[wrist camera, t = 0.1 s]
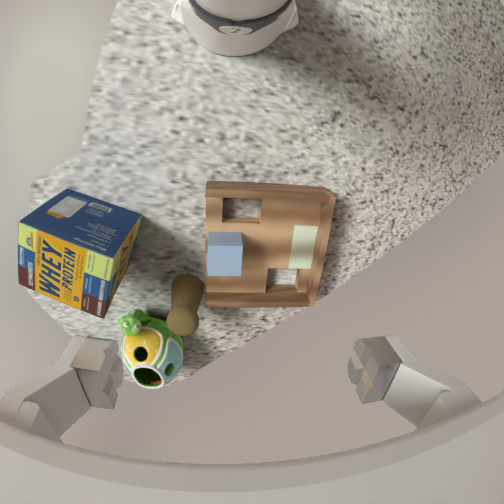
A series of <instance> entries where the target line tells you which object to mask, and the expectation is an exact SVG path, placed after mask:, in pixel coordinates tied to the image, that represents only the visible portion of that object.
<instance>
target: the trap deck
mask: <svg viewBox="0 0 504 504" xmlns="http://www.w3.org/2000/svg"><path fill="white" fill-rule="evenodd" d="M205 197H206V298H205V307H308V306H314V304H315V300H316V296H317V292H318V287H319V283H320V278H321V274H322V269H323V264H324V259H325V254H326V250H327V245H328V239H329V234H330V229H331V224H332V218H333V212H334V207H335V201H336V197H335V196H334V195H333V194H332V193H331V192H329V191H328V190H327V189H326V188H325V187H314V186H302V185H288V184H272V183H254V182H229V181H207V185H206V193H205ZM223 198H251V199H260V207H259V218H236V217H222V208H223ZM209 231H213V232H241V237H242V243H243V253H242V268H241V276H208V236H209ZM268 268H284V269H297V275H296V281H295V285H266V282H267V273H268Z"/></svg>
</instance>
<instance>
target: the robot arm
mask: <svg viewBox="0 0 504 504" xmlns="http://www.w3.org/2000/svg"><path fill="white" fill-rule="evenodd" d="M172 18H173V20H174V21H175V22H177V23H178V24H180V25H182V26H184V27H185V28H186V29H187V30H188V31H189V32H190V34H191V35H192V37H193V38H194V39H195V40H196V41H197V42H198V43H199V44H200V45H201V46H202V47H204V48H205V49H207V50H209V51H211V52H214V53H217V54H220V55H225V56H244V55H249V54H253V53H255V52H258V51H260V50H262V49H264V48H266V47H267V46H268V45H270V44H271V43H272V42H273V41H274V40H275V39H276V38H277V37H278V36H279V35H280V34H281V33H283V32H285V31H288V30H290V29H293V28H294V27H296V26H297V24H298V22H299V19H298V13H297V7H296V2H295V0H177V1H176V4H175V6H174V9H173V11H172ZM353 349H354V350H355V353H354V354H353V355H352V356H351V357H350V359H349V363H348V374H349V378H350V380H351V382H352V383H354V384H356V385H357V389H356V392H357V394H358V396H359V398H360V400H361V402H362V403H363V404H364V403H369V402H375V401H380V400H383V402H384V403H386V404H387V405H388V406H390V407H391V408H392V409H394V410H395V411H396V412H398V413H399V414H400V415H402V416H403V417H404V418H406V419H407V420H408V421H410V422H411V423H413V424H414V425H415V426H417V429H416V430H415V431H414V432H412V433H409V434H406V435H403V436H399V437H396V438H393V439H389V440H386V441H383V442H379V443H375V444H372V445H368V446H364V447H360V448H356V449H351V450H346V451H342V452H337V453H332V454H326V455H320V456H314V457H308V458H301V459H294V460H285V461H276V462H264V463H247V464H189V463H172V462H162V461H152V460H143V459H135V458H129V457H123V456H117V455H111V454H106V453H101V452H96V451H92V450H87V449H83V448H79V447H74V446H71V445H67V444H64V443H63V442H62V440H61V439H60V436H61V435H62V434H63V433H64V432H65V431H66V430H68V429H69V428H70V427H71V426H72V425H73V424H74V423H75V422H76V421H77V420H78V419H79V418H80V417H82V416H83V415H84V414H85V413H86V412H87V411H88V410H89V409H90V408H91V406H92V407H98V408H106V409H114V407H115V404H116V401H117V397H118V393H117V391H116V389H117V388H118V387H120V386H121V384H122V380H123V364H122V360H121V359H120V358H119V357H118V356H117V353H118V350H119V349H118V345H117V342H116V341H115V340H111V339H103V338H95V337H87V336H80V335H75V336H73V338H72V339H71V341H70V343H69V344H68V346H67V348H66V350H65V351H64V353H63V355H62V356H61V359H60V360H59V362H58V364H57V365H56V364H52V365H51V366H49V367H47V368H46V369H44V370H42V371H40V372H39V373H37V374H35V375H33V376H32V377H30V378H28V379H26V380H25V381H23V382H22V383H20V384H18V385H16V386H14V387H13V388H11V389H9V390H8V391H6V392H5V393H4V394H3V396H2V398H1V400H0V504H504V391H503V392H502V393H500V394H499V395H496V396H494V397H493V398H491V399H489V400H487V401H485V402H483V403H482V402H481V401H480V399H479V398H478V397H477V395H476V394H475V393H474V392H473V390H472V389H471V388H470V386H469V385H468V384H467V383H466V382H463V381H462V380H459V379H457V378H455V377H453V376H451V375H449V374H447V373H445V372H443V371H441V370H439V369H437V368H434V367H432V366H430V365H428V364H426V363H424V362H422V361H420V360H415V359H414V358H413V356H412V355H411V354H410V353H409V351H408V350H407V349H406V348H405V346H404V345H403V344H402V342H401V341H400V340H399V339H398V337H397V336H396V335H394V334H391V335H384V336H381V337H372V338H363V339H358V340H357V341H356V342H355V344H354V347H353Z"/></svg>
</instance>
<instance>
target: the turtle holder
mask: <svg viewBox="0 0 504 504" xmlns="http://www.w3.org/2000/svg"><path fill="white" fill-rule="evenodd" d="M120 324H121V328H122V330H123V333H124V334H125V336H124V340H123V343H122V344H121V348H122V356H123V360H124V364H125V366H126V368H127V369H128V371H129V372H130V374H131V375H132V377H133V379H134V380H135V382H136V383H137V384H138V385H140V386H142V387H144V388H148V389H156V388H161V387H163V386H164V385H166V384H168V383H170V382H171V381H172V380H173V379H174V378H175V377H176V375H177V374H178V372H179V371H180V368H181V365H182V362H183V351H184V345H183V341H182V339H181V337H180V335H177V334H175V333H173V332H172V331H171V330H170V329H169V327H168V325H167V320H166V321H163V320H160V319H157V318H153V317H149V316H147V315H146V314H145V313H144V312H143V311H141V310H139V309H133V310H131V311H130V312H129V313H128V315H127V316H124V317H122V318H121V320H120Z"/></svg>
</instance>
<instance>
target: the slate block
mask: <svg viewBox="0 0 504 504" xmlns="http://www.w3.org/2000/svg"><path fill="white" fill-rule="evenodd" d="M242 253H243V243H242V237H241V232H213V231H209V236H208V276H241V268H242Z"/></svg>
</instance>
